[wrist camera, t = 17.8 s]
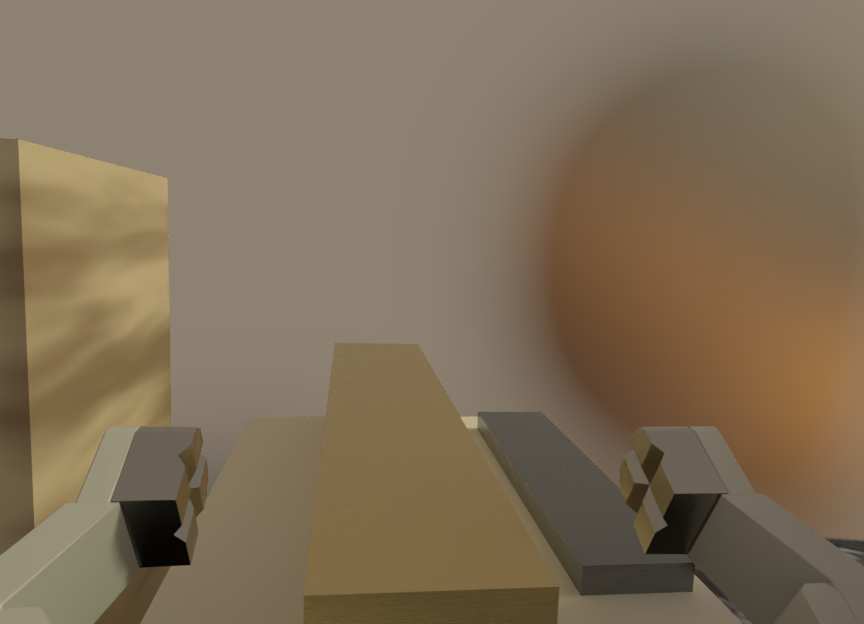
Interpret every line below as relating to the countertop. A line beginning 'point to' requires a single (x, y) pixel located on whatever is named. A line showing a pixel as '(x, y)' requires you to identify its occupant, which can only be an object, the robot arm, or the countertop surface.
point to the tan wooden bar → (413, 508)
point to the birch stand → (78, 331)
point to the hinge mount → (517, 475)
